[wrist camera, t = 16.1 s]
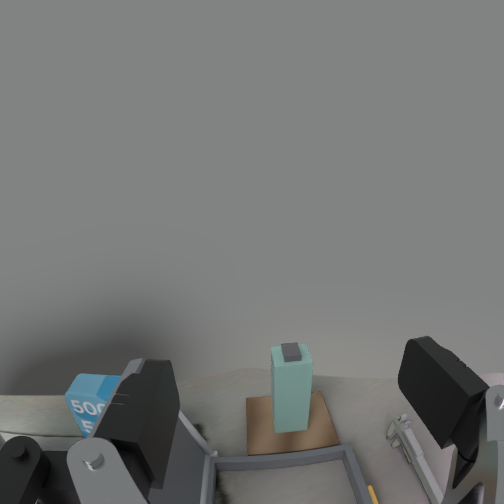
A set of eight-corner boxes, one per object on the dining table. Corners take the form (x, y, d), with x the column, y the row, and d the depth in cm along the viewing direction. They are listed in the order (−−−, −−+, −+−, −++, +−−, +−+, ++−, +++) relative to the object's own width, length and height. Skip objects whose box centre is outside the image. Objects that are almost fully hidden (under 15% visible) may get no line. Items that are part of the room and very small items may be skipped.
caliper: (384, 439, 30) (395, 409, 29) (391, 436, 30) (402, 406, 29) (449, 541, 10) (477, 519, 9) (457, 536, 10) (484, 513, 9)
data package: (93, 452, 28) (60, 391, 25) (101, 432, 32) (73, 371, 29) (173, 461, 29) (149, 399, 26) (176, 438, 33) (156, 376, 31)
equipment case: (144, 573, 11) (48, 506, 7) (168, 456, 30) (132, 352, 26) (391, 556, 12) (478, 477, 8) (349, 445, 30) (373, 338, 26)
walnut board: (248, 458, 30) (247, 454, 30) (246, 402, 41) (246, 398, 41) (338, 447, 30) (339, 443, 30) (320, 395, 42) (320, 391, 42)
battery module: (274, 433, 33) (274, 361, 30) (271, 412, 38) (270, 341, 35) (307, 429, 33) (313, 357, 31) (301, 409, 38) (305, 338, 35)
